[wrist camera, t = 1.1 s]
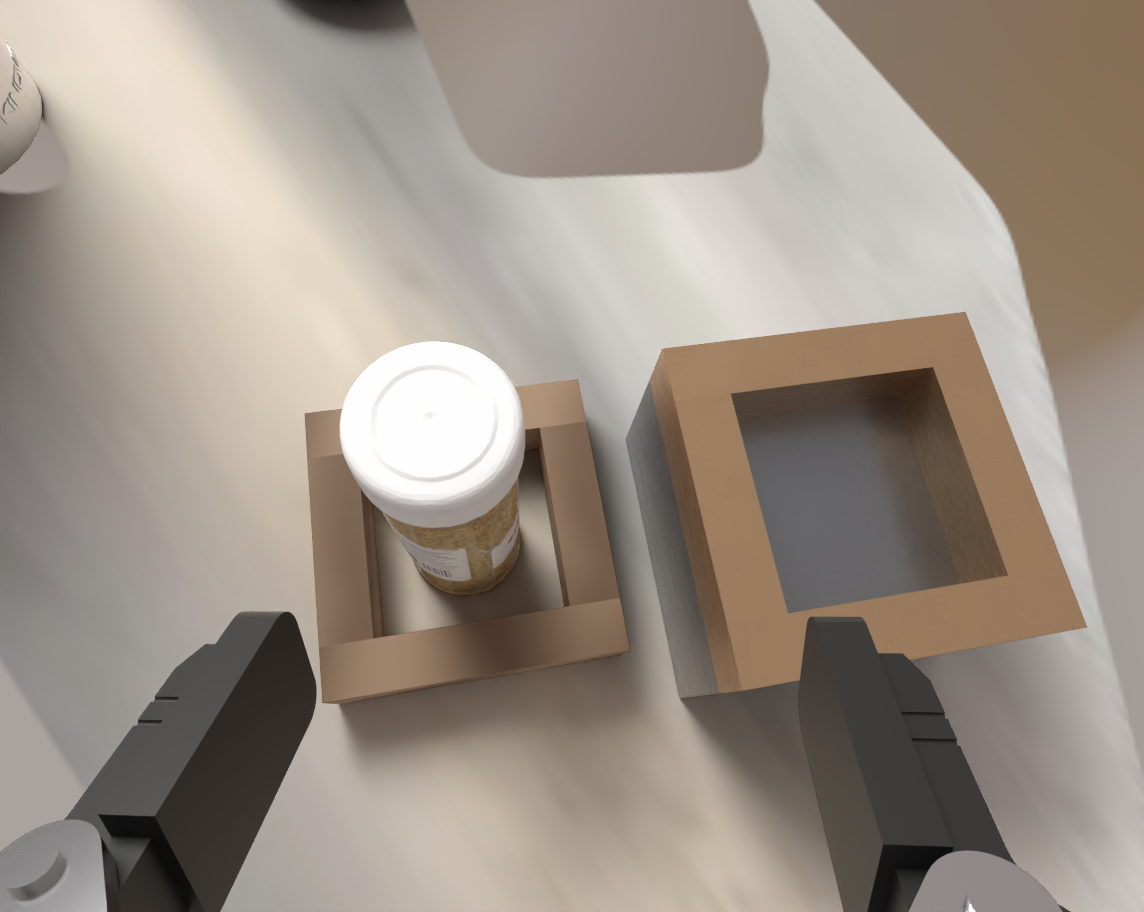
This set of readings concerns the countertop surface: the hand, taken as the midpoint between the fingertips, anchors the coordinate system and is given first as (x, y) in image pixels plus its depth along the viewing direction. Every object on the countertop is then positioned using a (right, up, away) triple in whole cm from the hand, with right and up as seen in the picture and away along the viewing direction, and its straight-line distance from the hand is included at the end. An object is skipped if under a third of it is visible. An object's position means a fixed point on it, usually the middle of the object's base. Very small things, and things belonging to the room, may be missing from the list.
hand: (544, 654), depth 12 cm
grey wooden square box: (+9, -1, +20) cm, 22 cm away
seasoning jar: (-4, -1, +19) cm, 20 cm away
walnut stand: (-4, 0, +19) cm, 19 cm away
